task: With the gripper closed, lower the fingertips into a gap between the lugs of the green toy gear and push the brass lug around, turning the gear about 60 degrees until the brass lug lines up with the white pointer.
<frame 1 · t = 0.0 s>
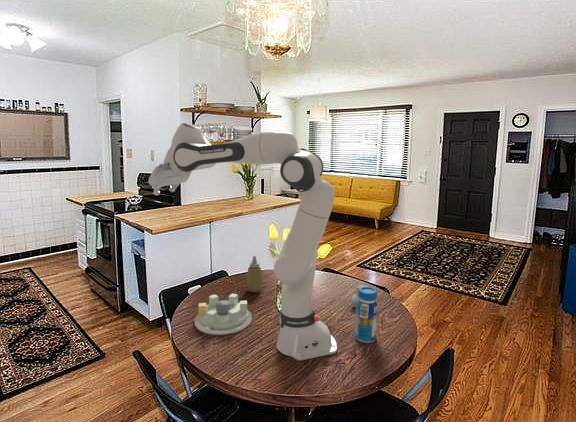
hand: (163, 192, 145), 54 cm above the table, tool tilted 30°, fingers open, 8 cm apart
blue wipes canister: (365, 338, 144), on the table
green toy gear: (223, 310, 155), point 5 cm above the table, hinge at 0.0°
air freshener: (362, 307, 169), on the table
mount plate: (223, 320, 156), on the table
squeeze bottle: (254, 290, 186), on the table
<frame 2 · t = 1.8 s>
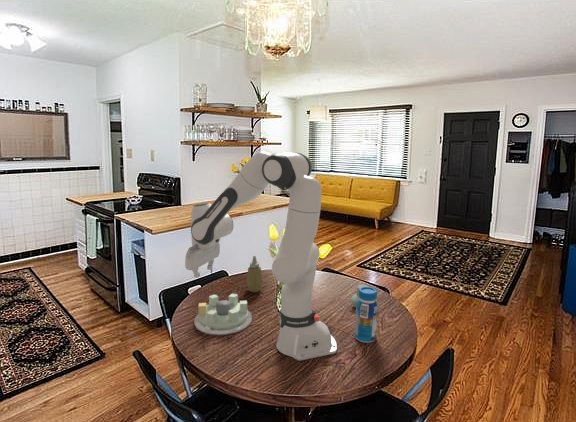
hand: (203, 273, 155), 20 cm above the table, tool pointing down, fingers open, 8 cm apart
nothing on the table moved.
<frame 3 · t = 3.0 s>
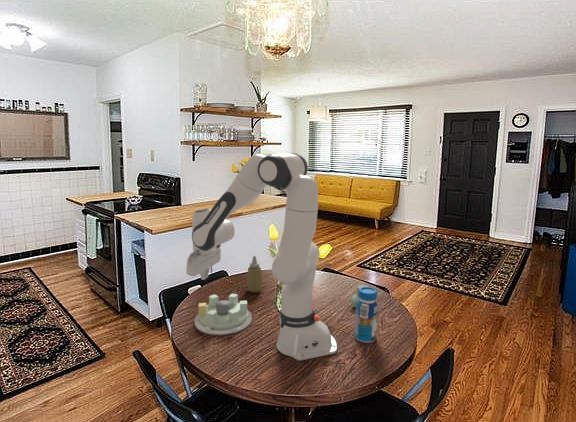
hand: (204, 278, 155), 17 cm above the table, tool pointing down, fingers closed
nothing on the table moved.
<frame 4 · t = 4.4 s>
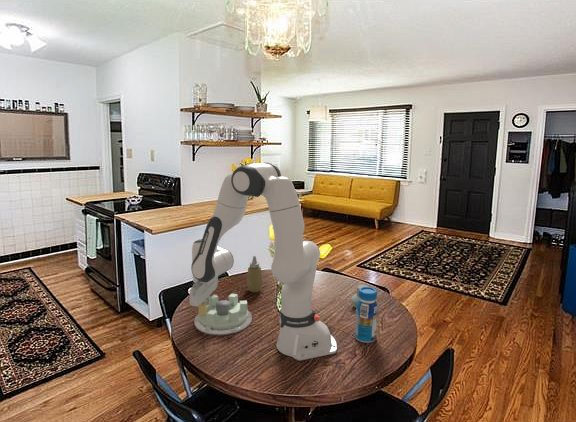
hand: (204, 306, 157), 5 cm above the table, tool pointing down, fingers closed
green toy gear: (223, 310, 155), point 5 cm above the table, hinge at 0.2°, touching gripper
everything else where it was.
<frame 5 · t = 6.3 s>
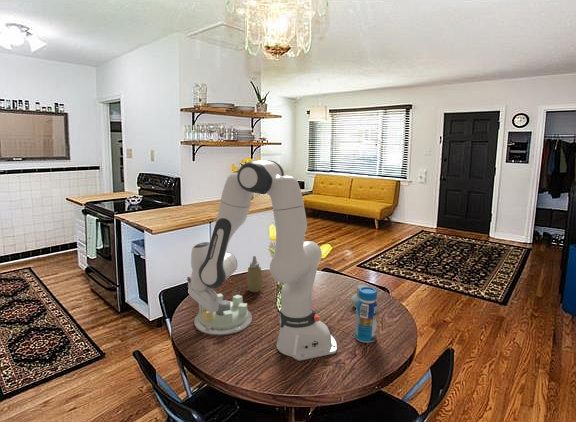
hand: (203, 313, 150), 5 cm above the table, tool pointing down, fingers closed
green toy gear: (223, 310, 155), point 5 cm above the table, hinge at 43.8°, touching gripper
everything else where it was.
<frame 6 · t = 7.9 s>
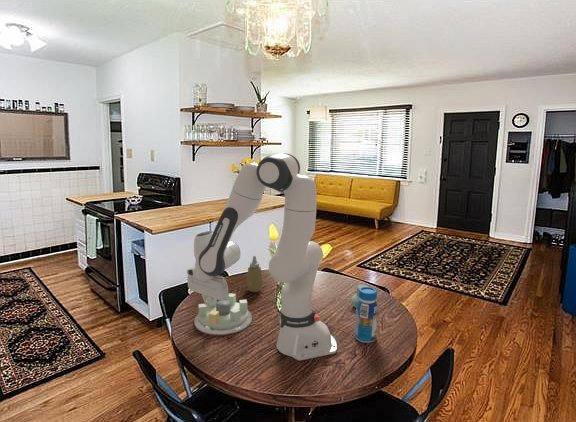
hand: (208, 304, 147), 10 cm above the table, tool pointing down, fingers closed
green toy gear: (223, 310, 155), point 5 cm above the table, hinge at 65.9°
everything else where it was.
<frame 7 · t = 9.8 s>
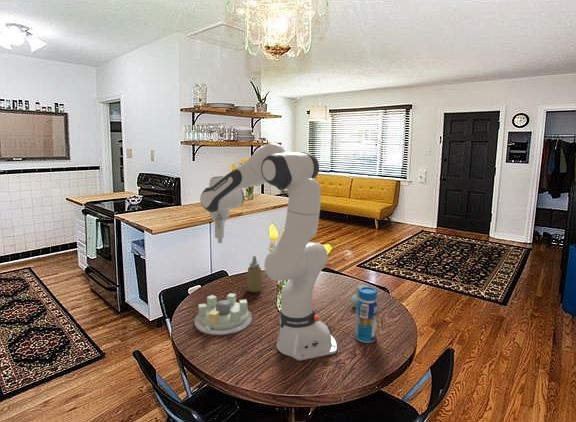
hand: (220, 242, 166), 29 cm above the table, tool pointing down, fingers closed
nothing on the table moved.
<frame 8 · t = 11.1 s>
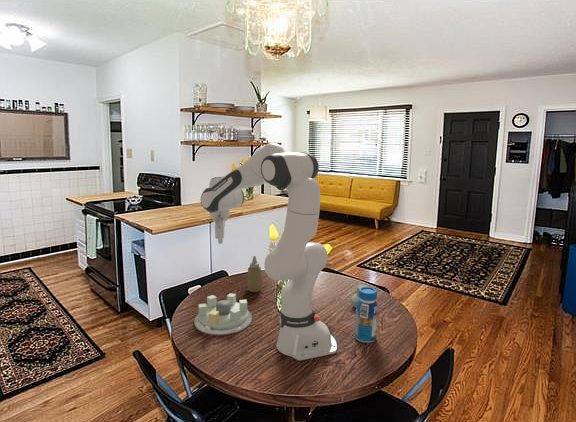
hand: (220, 242, 166), 29 cm above the table, tool pointing down, fingers closed
nothing on the table moved.
at the end: green toy gear at +66° (first picture: +0°) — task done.
